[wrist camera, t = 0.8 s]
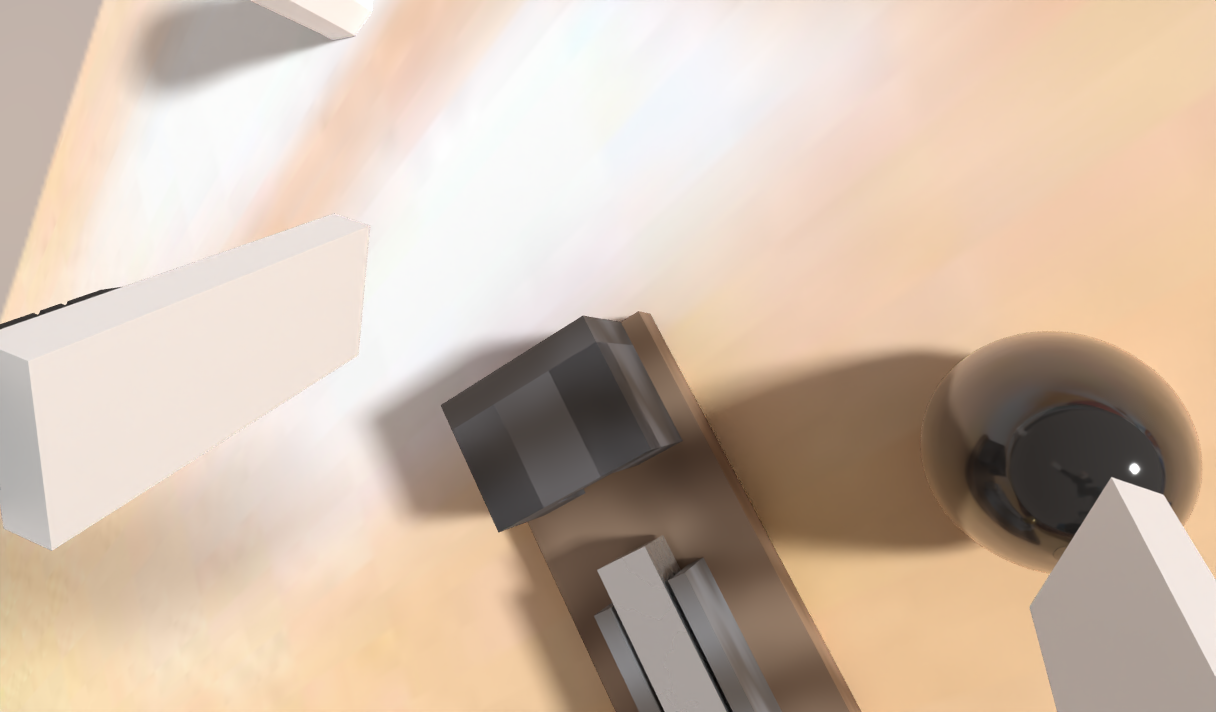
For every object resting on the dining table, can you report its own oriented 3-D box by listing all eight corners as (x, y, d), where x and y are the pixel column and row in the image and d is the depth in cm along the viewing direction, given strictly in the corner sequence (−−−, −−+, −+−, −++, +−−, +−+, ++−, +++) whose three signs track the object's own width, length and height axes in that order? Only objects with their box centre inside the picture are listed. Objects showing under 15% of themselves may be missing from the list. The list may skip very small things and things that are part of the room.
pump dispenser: (939, 556, 40) (946, 657, 25) (905, 353, 40) (894, 342, 26) (1178, 543, 36) (1343, 653, 22) (1136, 319, 37) (1267, 285, 22)
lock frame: (921, 824, 40) (919, 916, 33) (717, 888, 43) (679, 983, 37) (650, 314, 46) (602, 303, 39) (492, 409, 49) (424, 415, 43)
